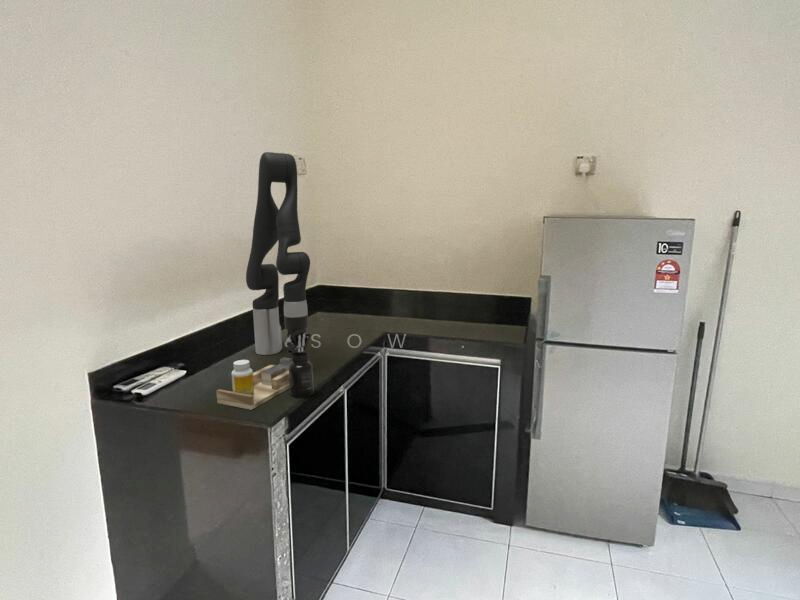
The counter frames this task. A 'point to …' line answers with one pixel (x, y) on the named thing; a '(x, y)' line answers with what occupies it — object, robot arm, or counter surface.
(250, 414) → the counter surface
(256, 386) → the cradle
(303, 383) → the supplement bottle
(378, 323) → the counter surface
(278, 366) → the shaft
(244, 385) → the supplement bottle
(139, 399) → the counter surface
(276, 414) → the counter surface
